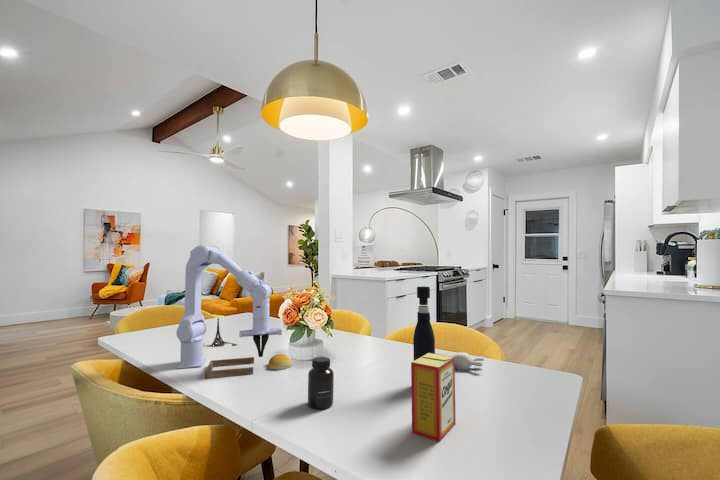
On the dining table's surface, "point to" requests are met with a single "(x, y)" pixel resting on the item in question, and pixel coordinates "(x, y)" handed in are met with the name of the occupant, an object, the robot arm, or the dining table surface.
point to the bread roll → (280, 362)
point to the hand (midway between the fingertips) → (260, 356)
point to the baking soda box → (433, 395)
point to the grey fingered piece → (465, 361)
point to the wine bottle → (423, 326)
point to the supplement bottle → (320, 384)
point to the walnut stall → (229, 372)
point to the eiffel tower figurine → (220, 339)
